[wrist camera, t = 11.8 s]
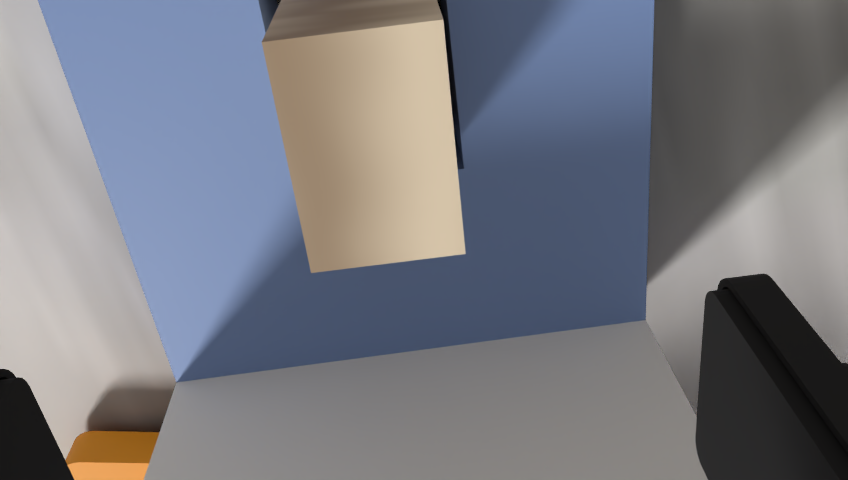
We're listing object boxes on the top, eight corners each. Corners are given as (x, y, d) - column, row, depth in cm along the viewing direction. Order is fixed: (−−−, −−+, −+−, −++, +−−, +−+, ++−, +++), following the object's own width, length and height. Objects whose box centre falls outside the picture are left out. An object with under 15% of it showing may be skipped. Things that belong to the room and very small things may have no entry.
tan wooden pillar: (418, -55, 26) (443, 19, 17) (437, 116, 29) (465, 254, 20) (298, -40, 26) (261, 42, 17) (329, 129, 29) (311, 273, 20)
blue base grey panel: (623, -228, 23) (991, -274, 9) (619, 310, 33) (796, 674, 19) (37, -146, 24) (-447, -73, 10) (207, 365, 33) (89, 765, 20)
